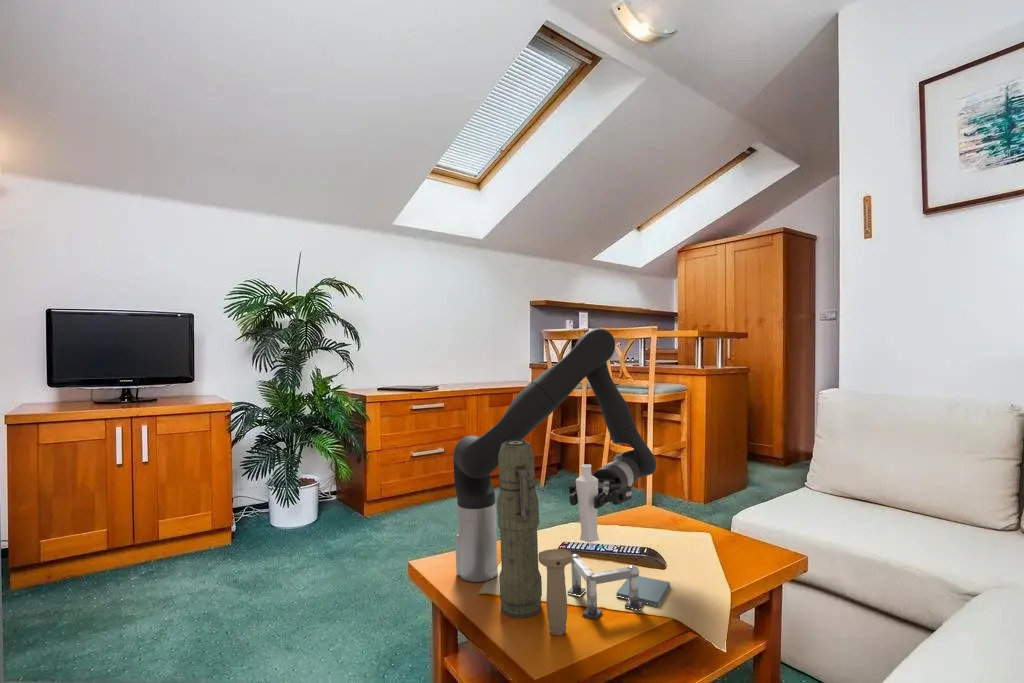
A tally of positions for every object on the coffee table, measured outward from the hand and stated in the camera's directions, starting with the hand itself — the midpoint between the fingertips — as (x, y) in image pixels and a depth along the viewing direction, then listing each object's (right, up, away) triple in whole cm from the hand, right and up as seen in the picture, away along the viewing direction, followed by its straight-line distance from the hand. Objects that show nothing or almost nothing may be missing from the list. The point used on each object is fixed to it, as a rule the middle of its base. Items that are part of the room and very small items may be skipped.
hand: (583, 502), depth 104 cm
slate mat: (+15, -23, +11) cm, 30 cm away
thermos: (-12, -24, +6) cm, 28 cm away
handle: (-6, -24, -4) cm, 25 cm away
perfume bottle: (+2, -8, +2) cm, 9 cm away
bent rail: (+4, -24, +5) cm, 24 cm away
